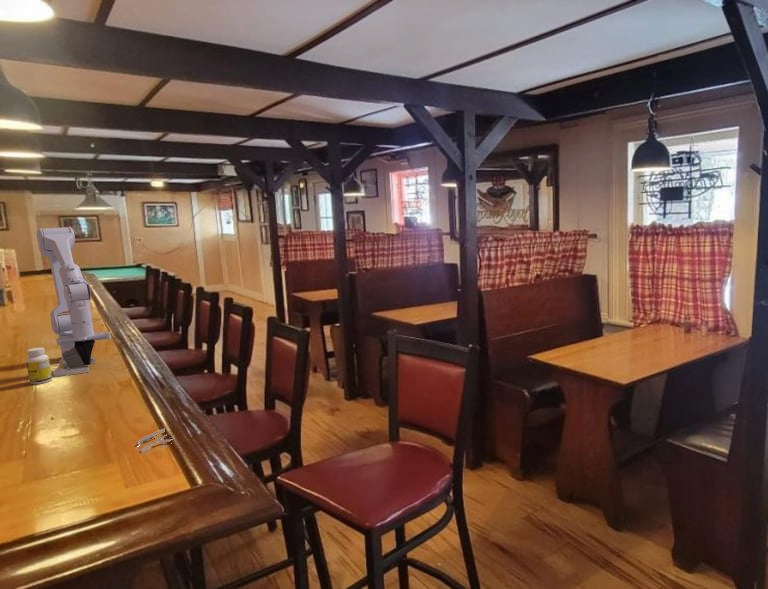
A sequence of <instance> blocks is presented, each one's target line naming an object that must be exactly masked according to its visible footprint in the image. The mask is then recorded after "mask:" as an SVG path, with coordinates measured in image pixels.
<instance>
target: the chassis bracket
mask: <svg viewBox="0 0 768 589" xmlns="http://www.w3.org/2000/svg"><path fill="white" fill-rule="evenodd" d="M93 363H94V364H96V357H91V364H90V365H94V364H93ZM90 365H85V366H82V367H75V368H69V367H68V365H67V363H66V361H63V362H60V364H59V365H58V366H57V368H55V370H54V371H53V377H54V378H57V377H59V378H60V377H65V376H71V375H72V376H73V375H78V374H87V373H90V371H89V370H90ZM86 372H87V373H86Z"/></svg>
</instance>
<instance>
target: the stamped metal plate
mask: <svg viewBox="0 0 768 589" xmlns="http://www.w3.org/2000/svg"><path fill="white" fill-rule="evenodd" d="M165 428H166V427H165ZM165 428H164V427H163V428H162V429H159V430H157V431H154V432H151V433H149V434H147V435H144V436H142V437H141V438H140V439H139V440H138V441H137V446H136V447H135V448H134V449H135V450H137V451H139V452H141V453H143V454H145V455H149V454H151V453H154V452H157V451H159V450H161V449H163V448H166V447H167V445H166V444H165V442H167V443H169V442H170V441H171V440H173V439H164V437H165V436H167V434H166V435H164V436H161V437H158V438H156V439H154V442H153V443H150V444H147V445H145V446H142V447H140V446H141V445H143V444H145V443H148V442H150V441H152V440H151V439H152V438H153V437H154V436H157V435H159V434H162V433H164V432H165ZM159 440H160V441H159ZM157 444H160V448H158V449H155V450H153V451H150V452H148V453H147V451H149V450H151V449H152V446H155V445H157ZM138 447H140V449H138Z"/></svg>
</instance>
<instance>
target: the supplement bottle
mask: <svg viewBox="0 0 768 589" xmlns="http://www.w3.org/2000/svg"><path fill="white" fill-rule="evenodd" d="M45 351H46V350H45V348H44V347H41V346H40V347H33V348H30V349H27V355H28V356H29V357H27V358H26V360H25V361H26V368H27V374H28V380H29V383H30V385H42V384H47V383H49V382H51V381H52V380H53V377H52V370H51V364H50V357H49V355H47V354H45V353H46V352H45Z"/></svg>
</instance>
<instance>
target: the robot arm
mask: <svg viewBox="0 0 768 589" xmlns="http://www.w3.org/2000/svg"><path fill="white" fill-rule="evenodd" d="M36 239H37V244H38V249H39V252H40V254H41V255H43V256H44V257H45V256H46V257H47V259H48V261H49V264H50V269H51V275H52V280H53V284H54V289H55V294H56V300H57V304H58V305H56V306H55V307H54V308H53V309H52V310H51V311H50V324H51V328H52V331H53V333H54V334H55V335H58V338H57V339H56V340H55V341H56V346H58V347H59V346H60V351H61V352H60V353H61V358H60V359H59V361H58V363H62V362H63V361H64V357H63V355H62V353H63V352H64V351H66V350H65V349H67V348H69V347H71V348H74V347H75V348H76V349H77V351H78V352H79V353H80V355H81V357H82V358H83V360H84V363H85V366H90V365H92V364H91V358H92V353H93V349H94V346H95V343H96V341H103V340H110V339H111V338H112V336H111V332H110V331H107V332H95V331H94V330H95V329H94V323H93V316H92V310H91V302H90V301H91V300H92V291H91V287H90V284H89V283H88V282H87V280H86V279H85V278H84V277H83V274H82V271H81V268H80V266H79V265H78V264H77V263H75V262H74V258H73V254H72V252H73V249H74V246H75V243H76V236H75V232H74V229H73V228H72V227H71V226H67V227H66V226H64V227H48V228H46V227H45V228H42V227H39V228H38V229H37V230H36Z"/></svg>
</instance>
